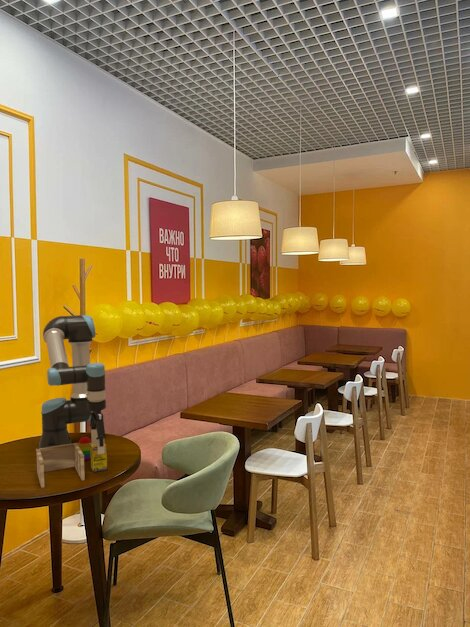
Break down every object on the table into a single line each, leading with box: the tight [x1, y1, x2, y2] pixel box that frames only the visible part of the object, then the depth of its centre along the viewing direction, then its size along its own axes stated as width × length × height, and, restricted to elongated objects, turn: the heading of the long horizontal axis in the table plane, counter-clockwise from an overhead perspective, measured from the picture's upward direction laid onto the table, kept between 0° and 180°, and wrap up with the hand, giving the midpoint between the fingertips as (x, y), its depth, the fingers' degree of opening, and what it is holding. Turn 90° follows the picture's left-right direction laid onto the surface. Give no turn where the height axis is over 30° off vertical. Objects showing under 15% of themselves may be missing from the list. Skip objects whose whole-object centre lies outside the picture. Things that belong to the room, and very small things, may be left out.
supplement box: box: [90, 442, 108, 473], centre depth 206 cm, size 6×6×11 cm
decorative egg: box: [76, 436, 92, 461], centre depth 221 cm, size 8×8×10 cm
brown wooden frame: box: [35, 442, 86, 489], centre depth 200 cm, size 19×17×10 cm
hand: (97, 448), depth 207 cm, fingers open, 13 cm apart
